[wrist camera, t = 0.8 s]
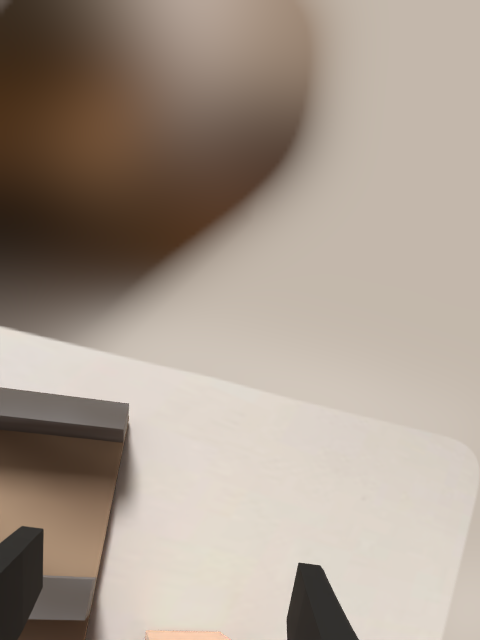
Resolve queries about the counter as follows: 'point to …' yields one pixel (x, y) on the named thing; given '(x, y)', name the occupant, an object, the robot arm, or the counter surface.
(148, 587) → the counter surface
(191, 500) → the counter surface
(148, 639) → the block
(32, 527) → the robot arm
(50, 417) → the rack
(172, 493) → the counter surface
